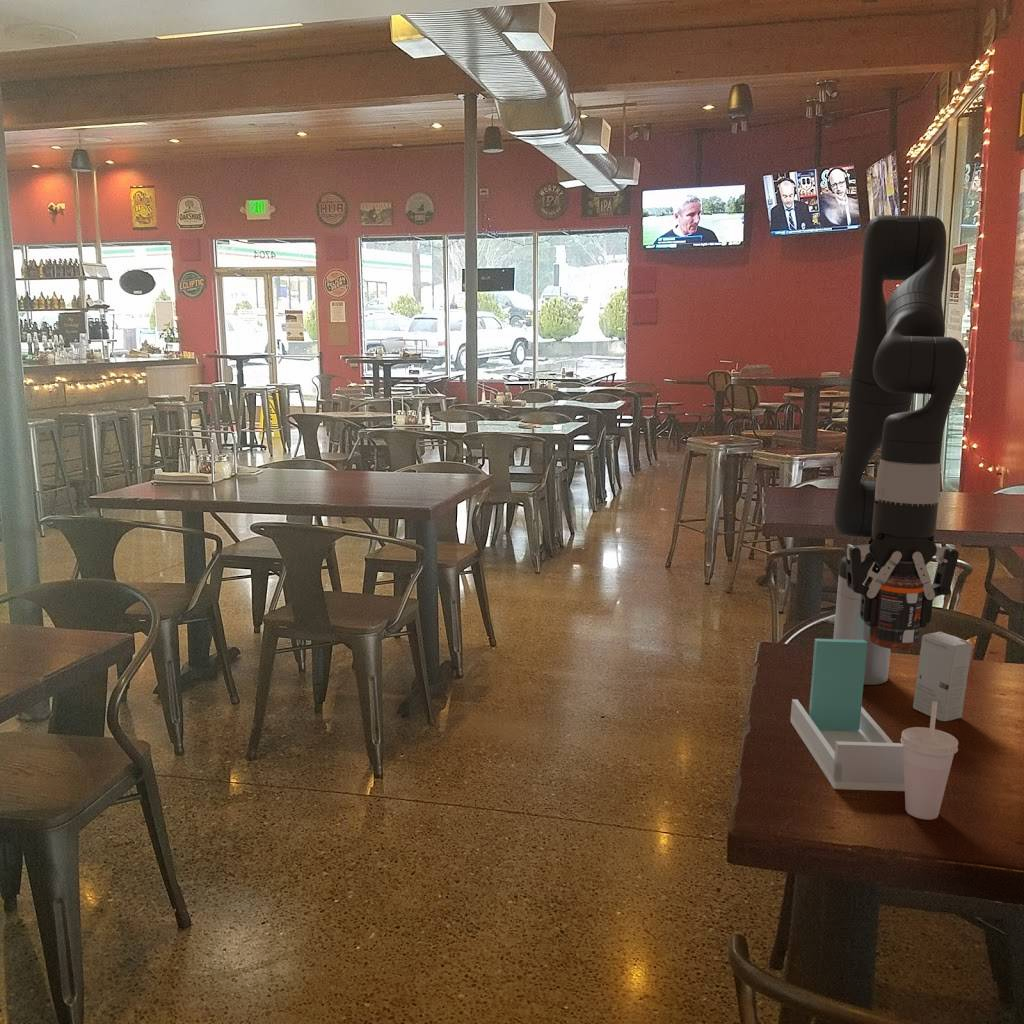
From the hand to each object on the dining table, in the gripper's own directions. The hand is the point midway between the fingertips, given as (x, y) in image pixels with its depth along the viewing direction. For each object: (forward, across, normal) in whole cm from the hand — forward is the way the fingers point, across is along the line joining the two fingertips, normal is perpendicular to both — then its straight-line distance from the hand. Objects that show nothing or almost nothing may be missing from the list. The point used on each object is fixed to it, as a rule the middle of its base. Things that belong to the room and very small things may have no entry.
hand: (894, 624), depth 128 cm
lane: (+20, +3, -5) cm, 21 cm away
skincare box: (+20, -16, -21) cm, 33 cm away
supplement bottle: (+3, 0, 0) cm, 3 cm away
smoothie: (+20, -1, +11) cm, 23 cm away
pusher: (+19, +3, -11) cm, 22 cm away
